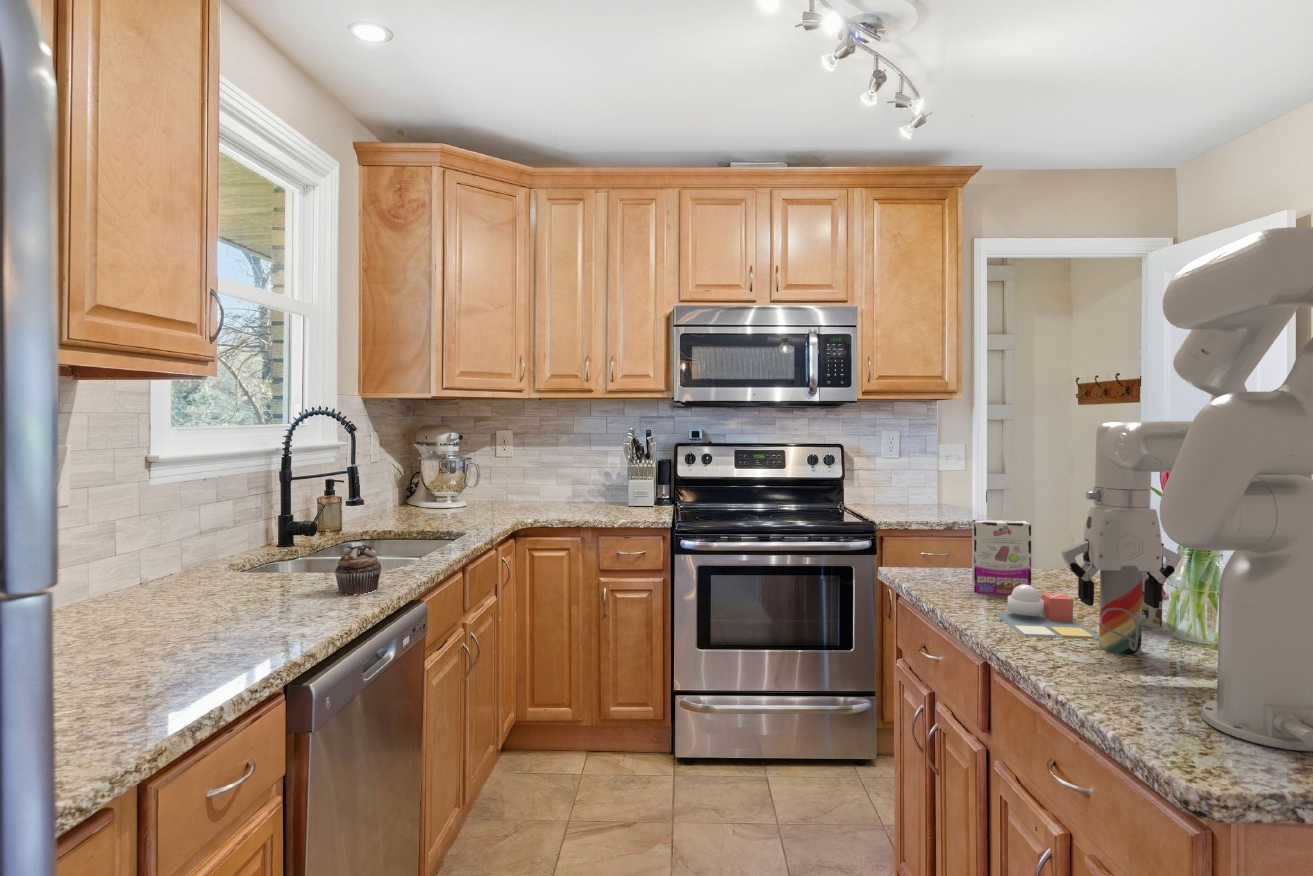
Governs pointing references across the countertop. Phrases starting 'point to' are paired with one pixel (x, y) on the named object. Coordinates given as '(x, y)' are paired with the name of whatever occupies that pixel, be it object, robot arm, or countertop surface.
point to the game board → (1045, 618)
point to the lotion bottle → (1121, 611)
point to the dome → (1025, 601)
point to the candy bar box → (1000, 555)
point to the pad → (1071, 632)
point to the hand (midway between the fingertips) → (1119, 604)
